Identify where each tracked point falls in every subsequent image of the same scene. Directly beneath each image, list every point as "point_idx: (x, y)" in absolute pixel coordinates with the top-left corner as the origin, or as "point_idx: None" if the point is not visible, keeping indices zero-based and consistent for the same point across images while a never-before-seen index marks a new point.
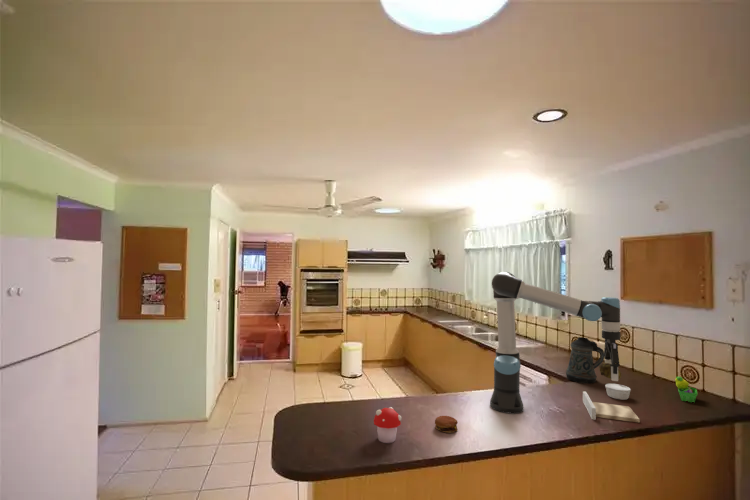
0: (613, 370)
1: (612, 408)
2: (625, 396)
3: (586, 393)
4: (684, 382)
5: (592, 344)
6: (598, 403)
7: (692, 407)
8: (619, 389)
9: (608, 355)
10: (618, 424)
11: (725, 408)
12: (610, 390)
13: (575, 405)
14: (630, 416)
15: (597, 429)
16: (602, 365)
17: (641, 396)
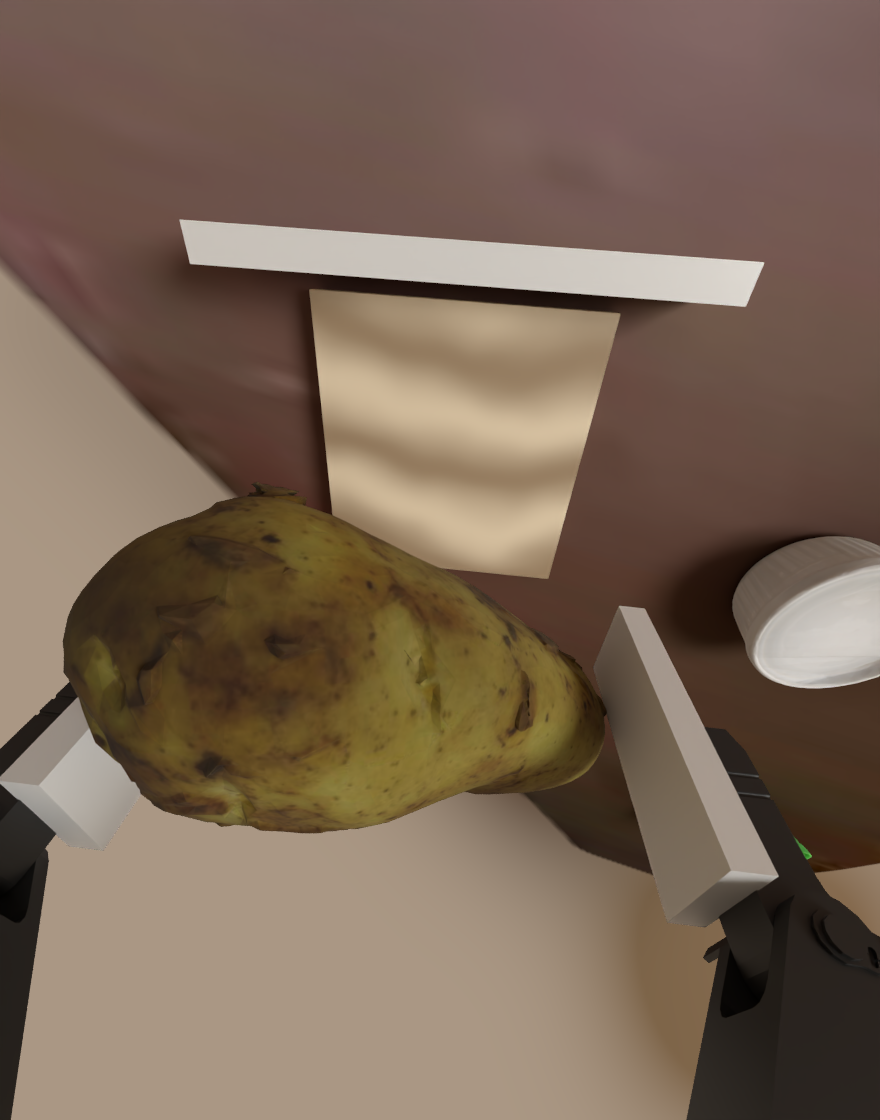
0: (58, 713)
1: (479, 465)
2: (736, 620)
3: (675, 291)
4: None
5: None
6: (577, 390)
7: (623, 784)
8: (780, 624)
9: (724, 1113)
10: (247, 420)
11: (623, 841)
12: (820, 567)
13: (570, 130)
14: (361, 526)
15: (36, 220)
16: (105, 645)
17: (784, 693)
